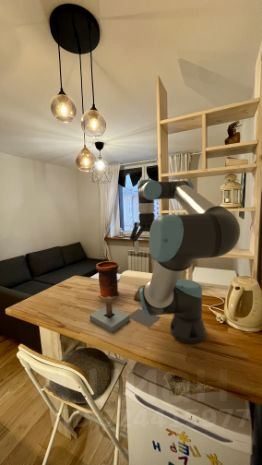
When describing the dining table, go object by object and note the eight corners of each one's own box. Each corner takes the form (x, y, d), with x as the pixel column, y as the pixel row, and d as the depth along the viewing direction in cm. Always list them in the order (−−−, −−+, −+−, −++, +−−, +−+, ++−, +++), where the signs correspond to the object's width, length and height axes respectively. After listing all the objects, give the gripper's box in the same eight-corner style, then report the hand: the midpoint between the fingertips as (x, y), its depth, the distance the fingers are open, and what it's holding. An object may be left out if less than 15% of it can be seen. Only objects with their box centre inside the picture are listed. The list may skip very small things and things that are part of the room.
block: (129, 320, 97) (129, 315, 96) (112, 333, 88) (111, 327, 87) (107, 310, 107) (107, 305, 106) (90, 320, 98) (89, 315, 98)
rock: (129, 298, 115) (143, 300, 109) (132, 283, 118) (146, 285, 113) (138, 302, 122) (152, 304, 116) (141, 288, 126) (155, 290, 120)
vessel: (94, 291, 130) (93, 262, 127) (114, 287, 136) (114, 259, 133) (100, 301, 117) (99, 269, 114) (122, 296, 123) (122, 265, 120)
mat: (160, 318, 98) (160, 317, 98) (149, 328, 90) (149, 327, 90) (138, 309, 107) (138, 308, 107) (126, 317, 99) (126, 316, 99)
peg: (114, 320, 97) (112, 297, 96) (109, 323, 95) (108, 300, 93) (110, 318, 99) (108, 295, 98) (105, 320, 97) (104, 298, 95)
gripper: (173, 211, 91) (173, 256, 93) (131, 212, 106) (132, 250, 109) (165, 212, 85) (166, 260, 88) (122, 213, 100) (123, 253, 103)
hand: (147, 255), depth 98 cm, fingers open, 13 cm apart
